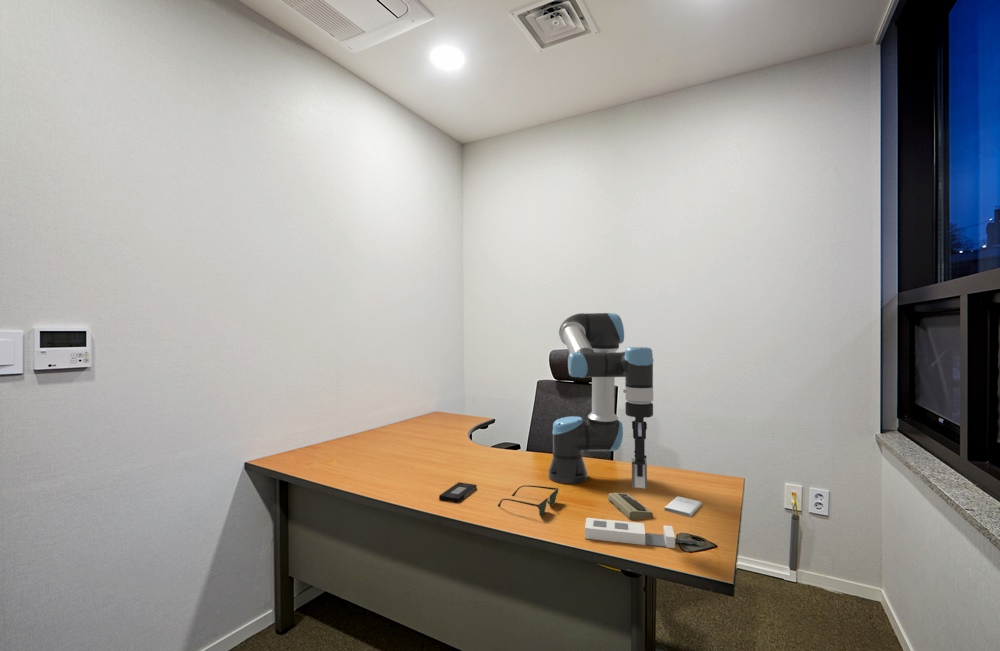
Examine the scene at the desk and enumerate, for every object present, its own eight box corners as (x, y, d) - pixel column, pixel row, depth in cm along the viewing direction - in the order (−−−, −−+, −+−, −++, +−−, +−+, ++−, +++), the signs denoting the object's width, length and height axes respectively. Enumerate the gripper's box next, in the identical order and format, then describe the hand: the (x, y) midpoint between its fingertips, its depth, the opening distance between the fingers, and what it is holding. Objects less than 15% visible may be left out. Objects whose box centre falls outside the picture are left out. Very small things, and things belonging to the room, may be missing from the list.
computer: (653, 519, 143) (653, 508, 143) (629, 521, 142) (629, 510, 142) (629, 500, 159) (629, 490, 159) (607, 501, 157) (607, 492, 157)
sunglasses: (515, 493, 165) (515, 479, 165) (559, 502, 157) (559, 487, 157) (492, 510, 150) (492, 495, 150) (540, 520, 142) (540, 504, 142)
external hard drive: (664, 512, 149) (676, 500, 158) (690, 518, 143) (701, 506, 153) (664, 506, 149) (676, 495, 158) (690, 513, 143) (701, 501, 153)
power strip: (586, 527, 136) (586, 517, 136) (694, 538, 129) (694, 527, 129) (584, 538, 130) (584, 527, 130) (699, 551, 122) (699, 539, 122)
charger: (631, 482, 132) (631, 457, 132) (646, 483, 131) (646, 458, 131) (631, 487, 128) (631, 461, 128) (646, 488, 127) (646, 462, 127)
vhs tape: (476, 490, 169) (476, 484, 169) (458, 504, 155) (458, 498, 155) (458, 487, 172) (458, 482, 172) (439, 501, 158) (439, 495, 158)
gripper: (625, 396, 139) (626, 474, 139) (625, 406, 122) (625, 493, 122) (651, 397, 137) (652, 476, 137) (654, 407, 120) (655, 496, 120)
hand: (639, 484), depth 129 cm, fingers closed on charger, 4 cm apart
